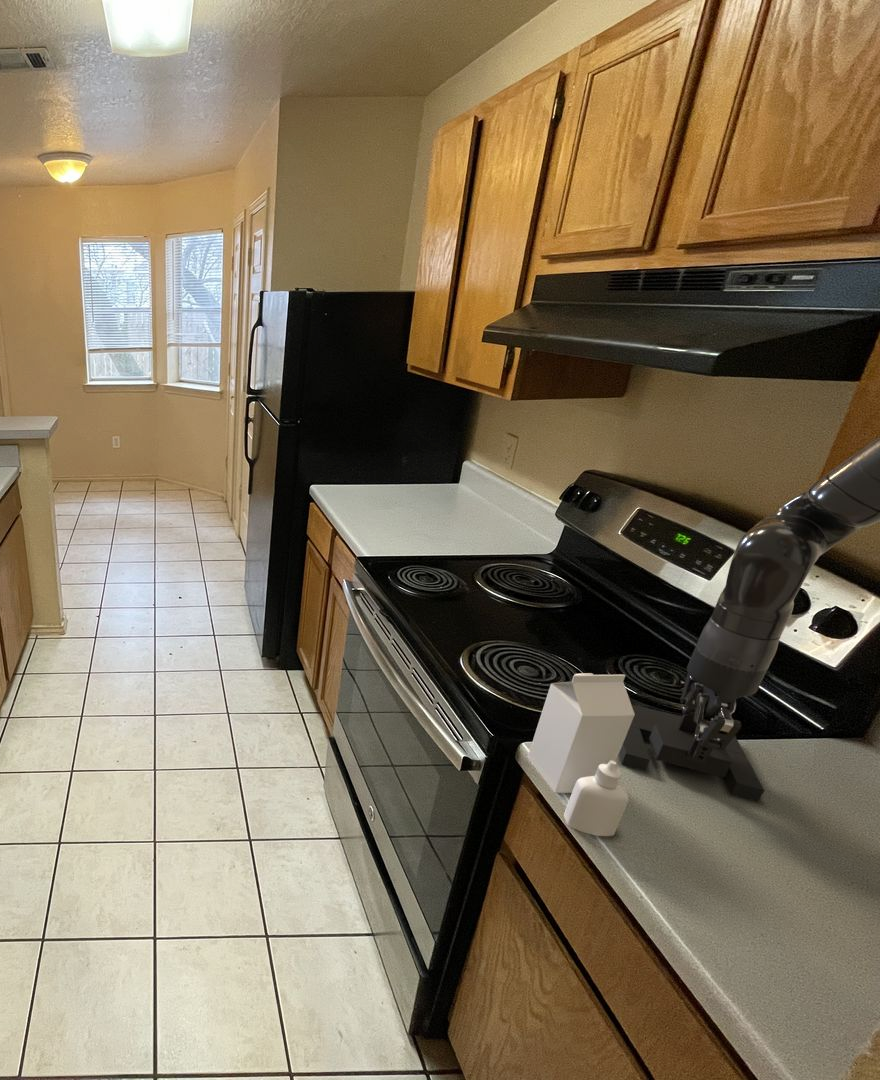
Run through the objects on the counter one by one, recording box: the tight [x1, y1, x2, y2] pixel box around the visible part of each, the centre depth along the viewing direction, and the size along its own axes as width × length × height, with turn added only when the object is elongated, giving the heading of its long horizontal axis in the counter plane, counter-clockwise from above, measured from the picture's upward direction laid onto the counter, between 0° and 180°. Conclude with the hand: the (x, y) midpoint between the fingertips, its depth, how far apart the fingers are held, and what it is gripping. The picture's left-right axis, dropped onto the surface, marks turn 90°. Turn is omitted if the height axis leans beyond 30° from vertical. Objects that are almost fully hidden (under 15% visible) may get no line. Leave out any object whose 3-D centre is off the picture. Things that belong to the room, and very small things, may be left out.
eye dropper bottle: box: [563, 760, 629, 837], centre depth 78 cm, size 4×6×12 cm
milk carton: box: [527, 672, 635, 794], centre depth 85 cm, size 7×7×19 cm
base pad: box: [618, 703, 765, 802], centre depth 92 cm, size 16×14×3 cm
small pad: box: [649, 724, 732, 778], centre depth 89 cm, size 8×5×3 cm, turn 63°
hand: (689, 747), depth 88 cm, fingers closed on small pad, 5 cm apart
